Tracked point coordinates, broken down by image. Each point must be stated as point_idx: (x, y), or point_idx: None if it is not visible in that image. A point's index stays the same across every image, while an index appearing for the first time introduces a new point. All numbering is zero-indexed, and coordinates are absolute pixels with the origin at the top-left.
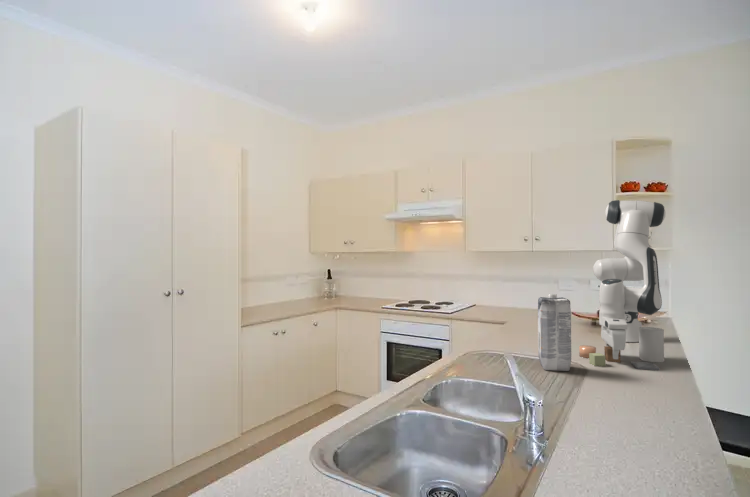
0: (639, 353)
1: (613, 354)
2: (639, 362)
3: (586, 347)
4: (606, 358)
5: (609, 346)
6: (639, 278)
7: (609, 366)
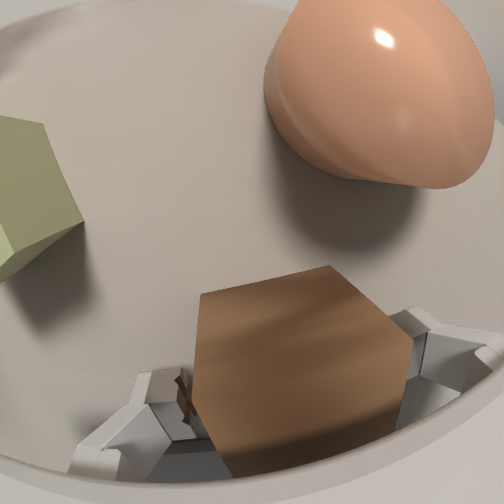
0: None
1: (126, 408)
2: (222, 474)
3: (381, 32)
4: (245, 295)
5: (453, 366)
6: None
7: (31, 301)
